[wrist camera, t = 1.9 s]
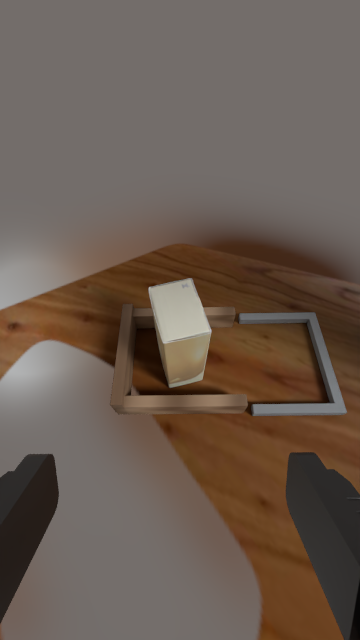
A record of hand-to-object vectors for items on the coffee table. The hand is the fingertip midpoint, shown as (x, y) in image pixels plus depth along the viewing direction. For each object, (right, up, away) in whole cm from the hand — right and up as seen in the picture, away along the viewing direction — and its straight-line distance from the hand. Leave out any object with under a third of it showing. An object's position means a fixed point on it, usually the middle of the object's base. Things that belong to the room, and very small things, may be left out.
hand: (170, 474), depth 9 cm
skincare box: (0, 0, +25) cm, 25 cm away
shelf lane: (0, 0, +25) cm, 25 cm away
